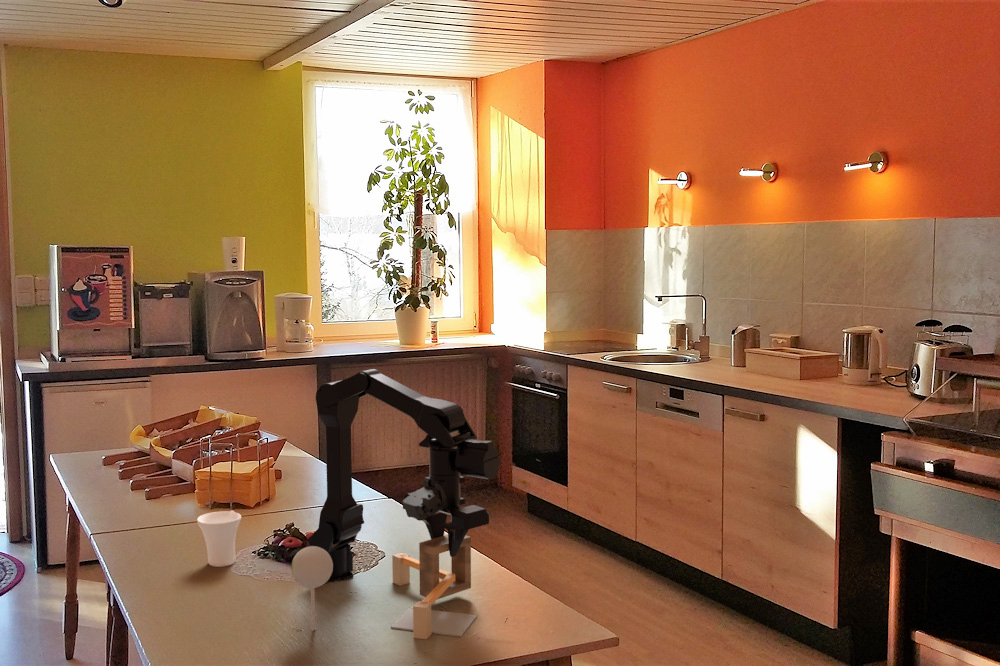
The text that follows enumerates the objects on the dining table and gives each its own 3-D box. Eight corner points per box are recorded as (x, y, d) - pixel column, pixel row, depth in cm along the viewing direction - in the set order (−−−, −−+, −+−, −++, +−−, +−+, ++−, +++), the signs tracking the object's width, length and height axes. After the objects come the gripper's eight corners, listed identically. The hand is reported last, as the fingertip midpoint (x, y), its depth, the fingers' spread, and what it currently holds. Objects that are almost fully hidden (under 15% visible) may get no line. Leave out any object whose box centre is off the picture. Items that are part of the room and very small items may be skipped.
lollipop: (295, 622, 176) (293, 541, 174) (335, 621, 177) (334, 540, 175) (290, 639, 169) (288, 554, 167) (332, 638, 170) (330, 553, 168)
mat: (409, 608, 182) (409, 607, 182) (476, 616, 179) (476, 615, 179) (390, 628, 174) (390, 626, 174) (461, 636, 170) (461, 635, 170)
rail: (417, 641, 168) (417, 609, 168) (358, 587, 193) (357, 560, 192) (485, 626, 175) (485, 595, 174) (420, 576, 199) (419, 549, 199)
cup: (252, 558, 210) (251, 512, 209) (222, 572, 201) (221, 524, 200) (219, 552, 214) (217, 507, 212) (189, 565, 205) (187, 519, 204)
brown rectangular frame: (419, 594, 184) (419, 542, 183) (457, 582, 190) (456, 532, 189) (433, 600, 181) (433, 547, 180) (470, 588, 188) (470, 536, 186)
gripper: (379, 470, 184) (380, 551, 186) (444, 490, 171) (444, 577, 173) (425, 460, 192) (426, 538, 194) (491, 478, 179) (491, 562, 180)
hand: (445, 553), depth 185 cm, fingers closed on brown rectangular frame, 4 cm apart
